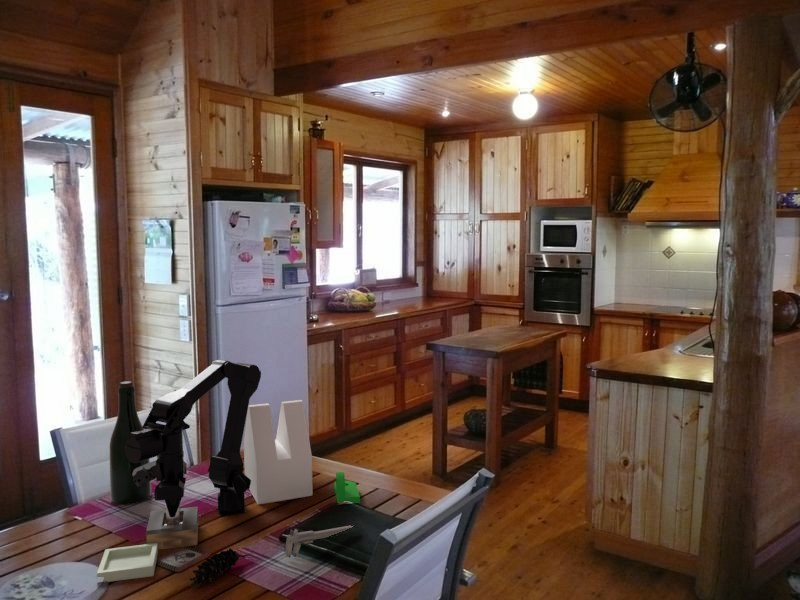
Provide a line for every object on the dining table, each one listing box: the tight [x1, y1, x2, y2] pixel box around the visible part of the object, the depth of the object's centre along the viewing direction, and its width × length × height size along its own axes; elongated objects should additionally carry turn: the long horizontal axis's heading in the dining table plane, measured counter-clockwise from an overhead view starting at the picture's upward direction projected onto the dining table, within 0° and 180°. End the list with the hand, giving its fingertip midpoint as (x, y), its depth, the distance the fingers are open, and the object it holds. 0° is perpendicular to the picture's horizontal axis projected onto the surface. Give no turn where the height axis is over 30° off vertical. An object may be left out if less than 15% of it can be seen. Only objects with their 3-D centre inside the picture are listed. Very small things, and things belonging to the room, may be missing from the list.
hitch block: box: [145, 505, 199, 551], centre depth 155 cm, size 11×11×5 cm
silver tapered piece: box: [163, 505, 182, 526], centre depth 155 cm, size 6×3×10 cm, turn 106°
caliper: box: [285, 524, 354, 559], centre depth 151 cm, size 20×1×6 cm, turn 134°
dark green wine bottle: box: [108, 380, 152, 506], centre depth 178 cm, size 10×10×33 cm
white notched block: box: [243, 399, 313, 505], centre depth 186 cm, size 19×15×25 cm
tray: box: [96, 543, 159, 583], centre depth 141 cm, size 11×11×2 cm
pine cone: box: [188, 547, 252, 589], centre depth 139 cm, size 18×5×5 cm
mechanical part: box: [333, 471, 361, 505], centre depth 181 cm, size 12×6×8 cm, turn 10°
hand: (172, 514), depth 155 cm, fingers closed on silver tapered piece, 3 cm apart
